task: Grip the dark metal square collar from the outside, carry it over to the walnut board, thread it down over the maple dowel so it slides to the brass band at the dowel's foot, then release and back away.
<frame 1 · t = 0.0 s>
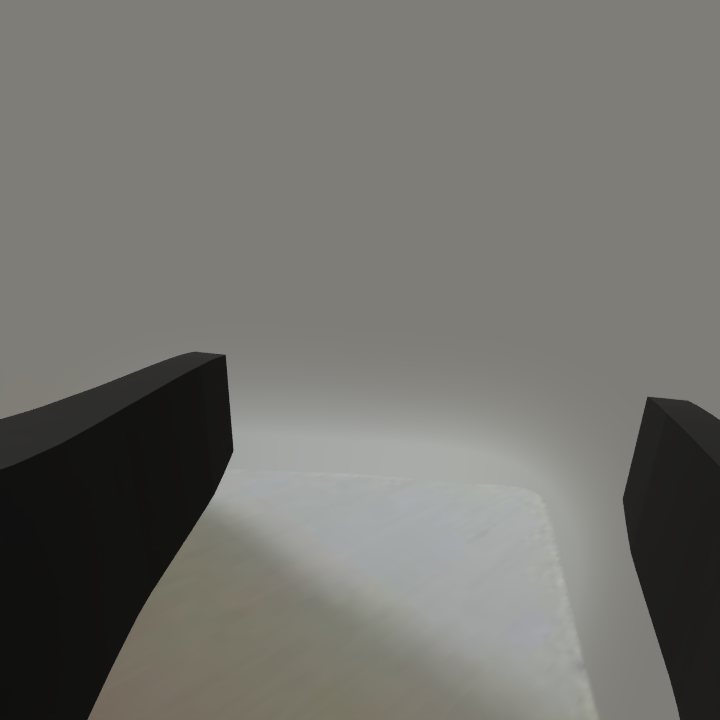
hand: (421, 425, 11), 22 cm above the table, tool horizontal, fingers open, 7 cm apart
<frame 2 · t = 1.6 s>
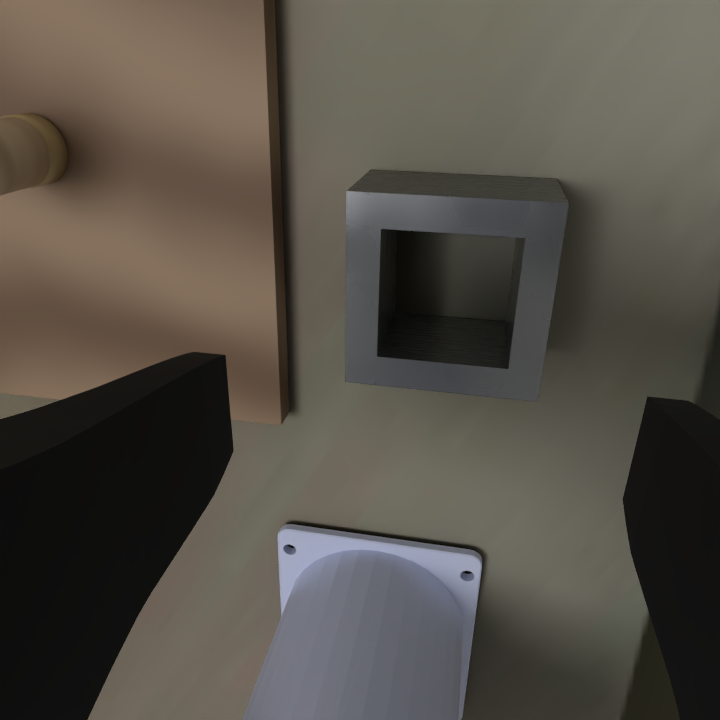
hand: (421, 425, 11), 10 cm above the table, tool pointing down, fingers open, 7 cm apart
board: (57, 145, 21), on the table
collar: (453, 263, 20), on the table
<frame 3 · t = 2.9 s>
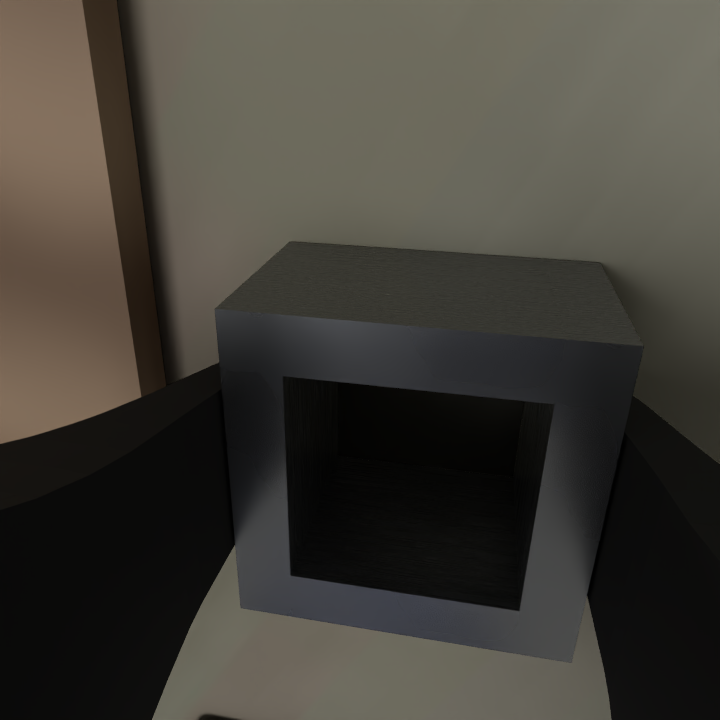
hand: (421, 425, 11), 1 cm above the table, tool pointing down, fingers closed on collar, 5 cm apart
collar: (429, 388, 12), on the table, touching gripper
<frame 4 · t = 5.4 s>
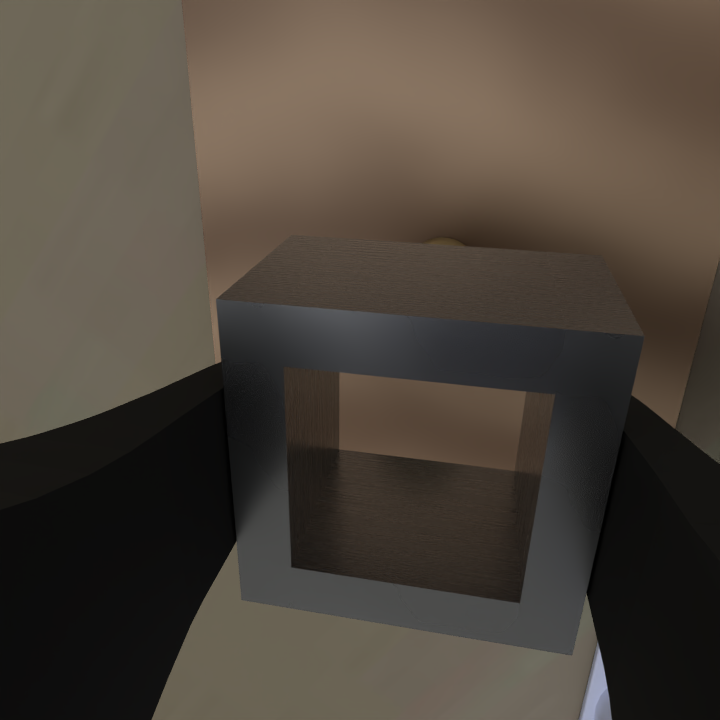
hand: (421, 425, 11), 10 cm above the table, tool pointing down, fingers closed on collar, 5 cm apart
board: (444, 261, 20), on the table
collar: (430, 381, 12), point 8 cm above the table, touching gripper
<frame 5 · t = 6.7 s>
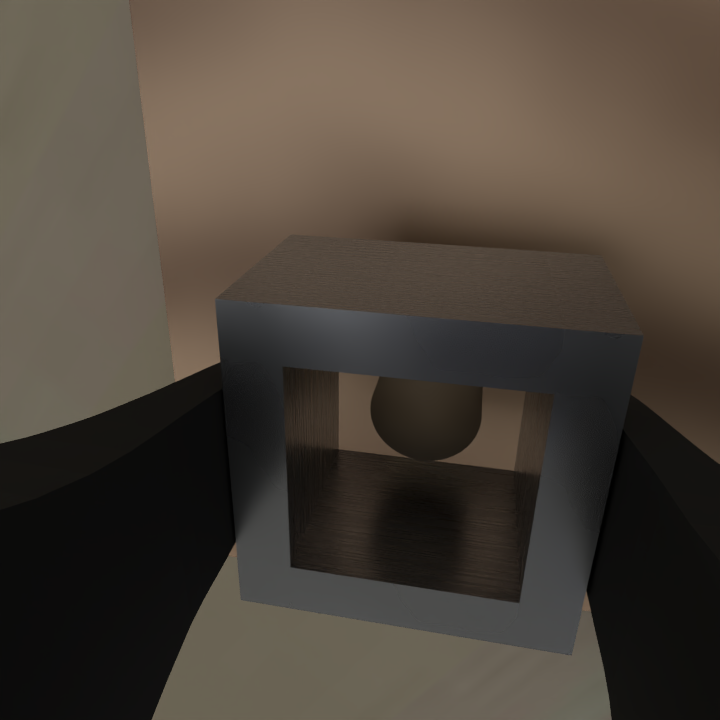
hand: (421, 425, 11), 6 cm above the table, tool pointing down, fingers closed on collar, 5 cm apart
board: (447, 301, 17), on the table
collar: (429, 381, 12), point 5 cm above the table, touching gripper
when the fingers open (4 cm above the table, at t = 7.8 s): collar drops 1 cm, resting on board.
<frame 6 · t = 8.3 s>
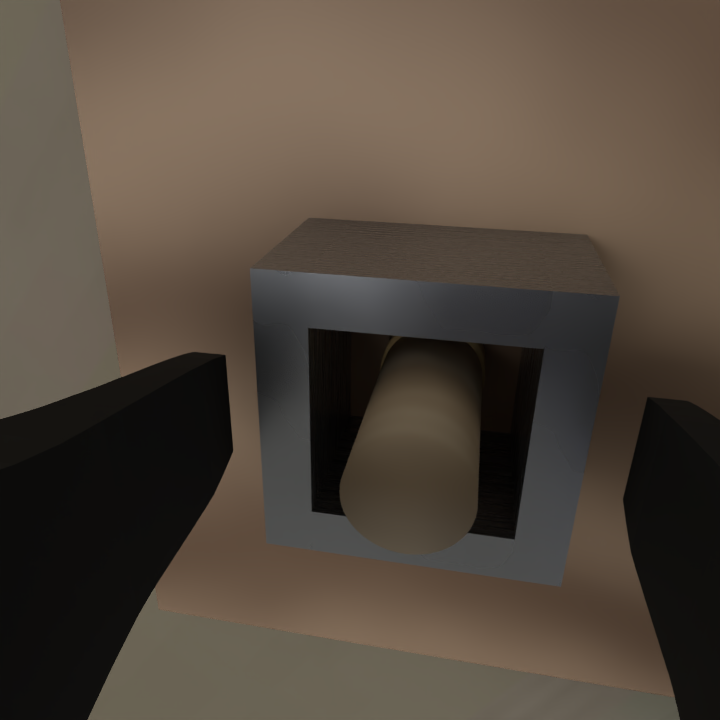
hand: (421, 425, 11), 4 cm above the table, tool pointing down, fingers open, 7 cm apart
board: (439, 337, 15), on the table
collar: (433, 351, 14), point 1 cm above the table, touching board
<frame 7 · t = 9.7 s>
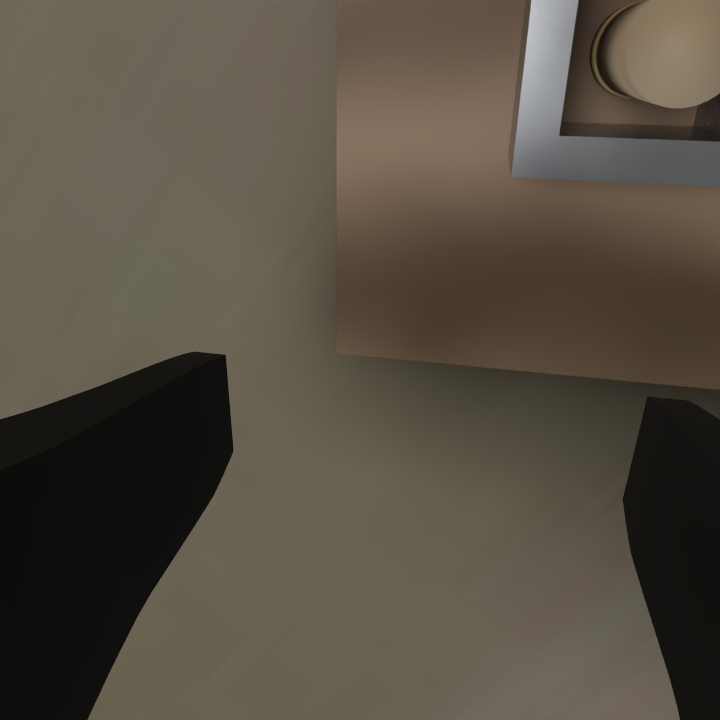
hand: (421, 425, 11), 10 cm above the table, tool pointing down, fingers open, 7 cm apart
board: (626, 51, 17), on the table
collar: (632, 46, 16), point 1 cm above the table, touching board
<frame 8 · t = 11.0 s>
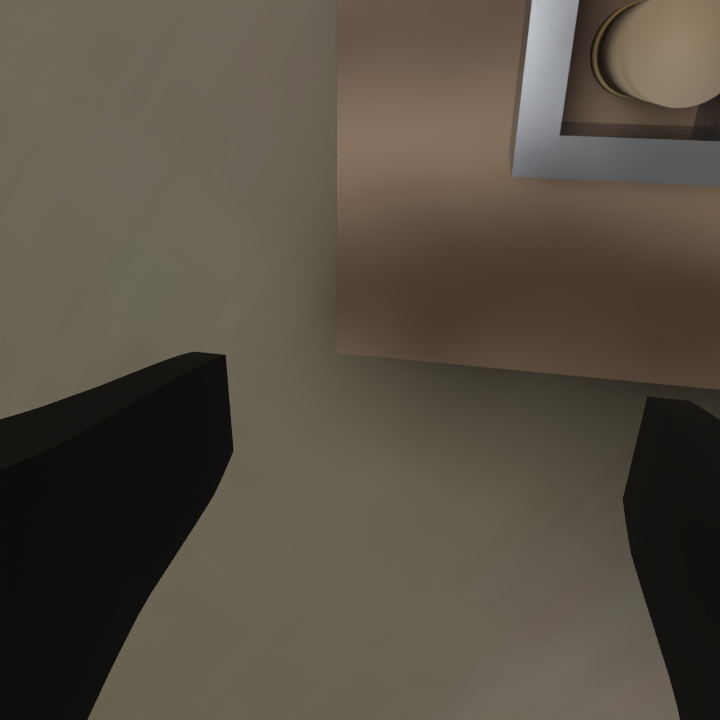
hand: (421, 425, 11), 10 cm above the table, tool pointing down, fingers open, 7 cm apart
board: (626, 51, 17), on the table
collar: (633, 45, 16), point 1 cm above the table, touching board
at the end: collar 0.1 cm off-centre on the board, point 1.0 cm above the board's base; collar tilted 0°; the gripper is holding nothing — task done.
